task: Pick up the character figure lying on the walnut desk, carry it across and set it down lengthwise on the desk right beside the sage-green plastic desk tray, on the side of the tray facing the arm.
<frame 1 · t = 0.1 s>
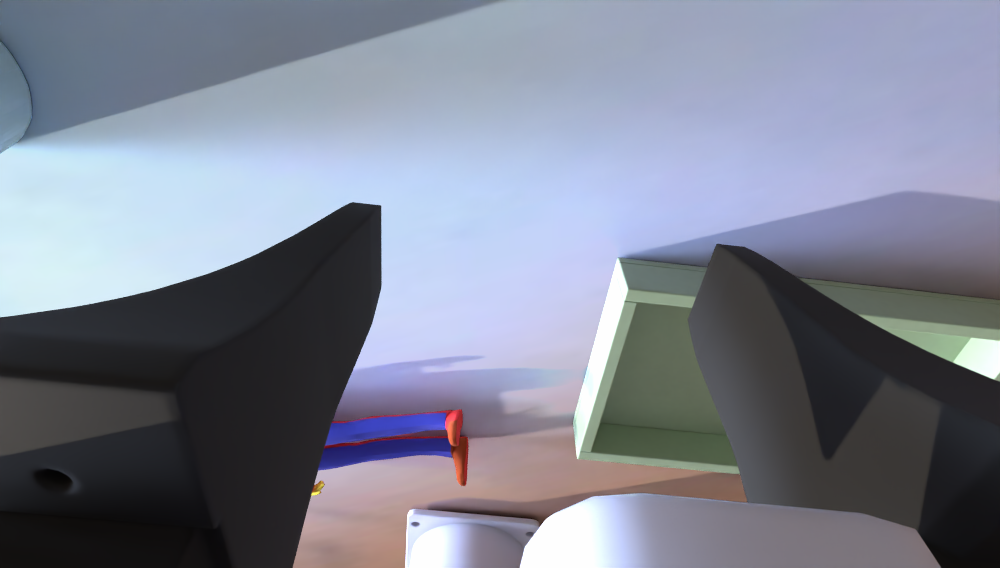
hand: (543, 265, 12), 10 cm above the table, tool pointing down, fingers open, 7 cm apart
character figure: (282, 422, 30), on the table
desk tray: (768, 366, 27), on the table
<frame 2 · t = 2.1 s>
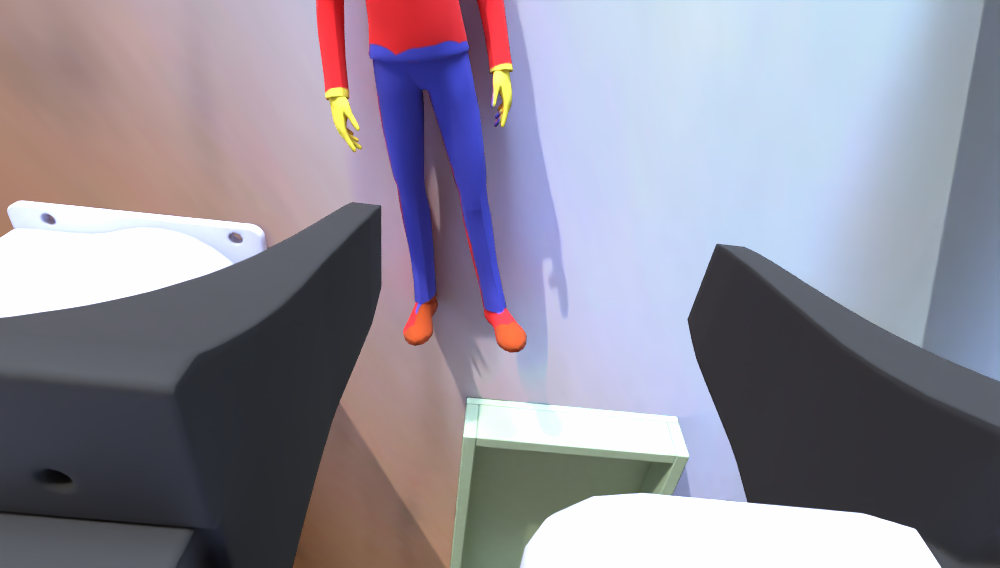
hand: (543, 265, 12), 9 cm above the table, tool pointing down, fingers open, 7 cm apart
character figure: (428, 46, 18), on the table
desk tray: (546, 513, 31), on the table
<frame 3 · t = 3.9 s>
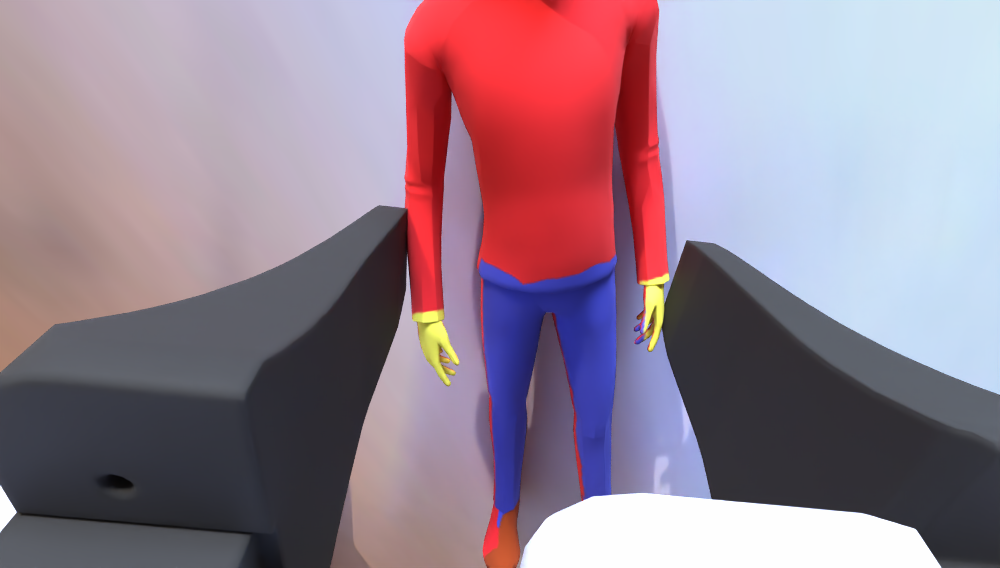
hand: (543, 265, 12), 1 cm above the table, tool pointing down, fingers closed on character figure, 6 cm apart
character figure: (542, 229, 13), on the table, touching gripper
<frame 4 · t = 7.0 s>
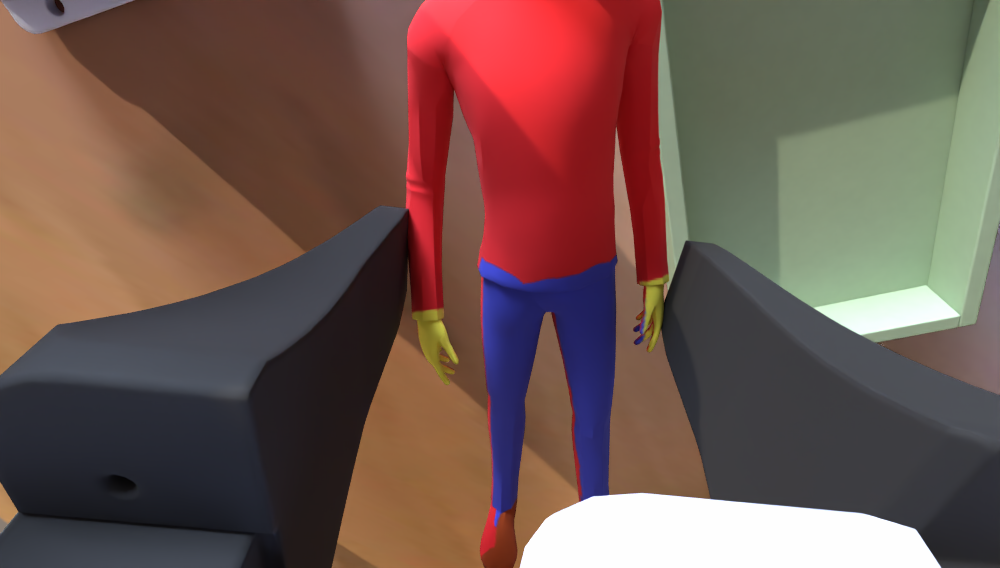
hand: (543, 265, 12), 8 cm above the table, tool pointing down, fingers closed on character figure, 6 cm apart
character figure: (543, 229, 13), point 7 cm above the table, touching gripper
desk tray: (802, 113, 18), on the table
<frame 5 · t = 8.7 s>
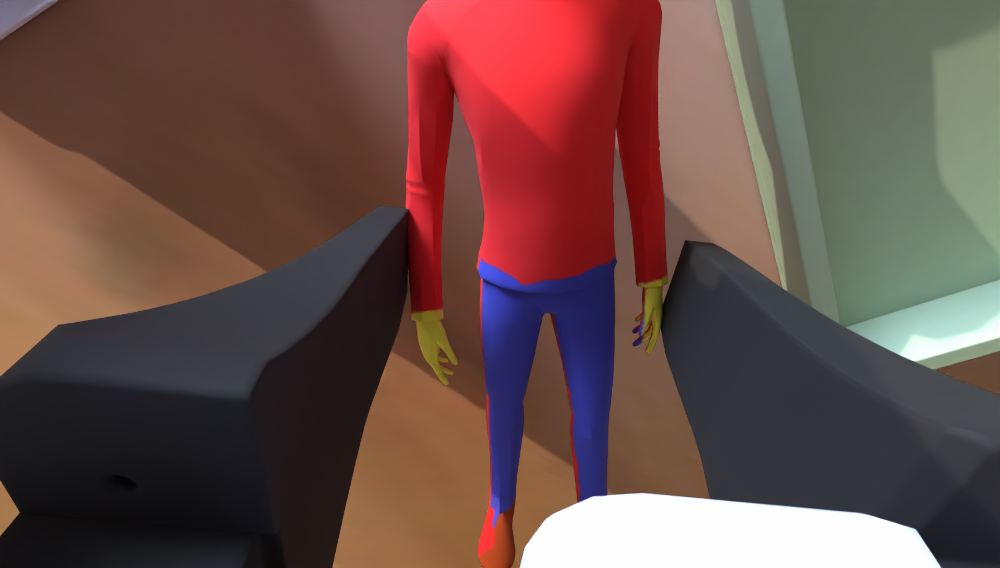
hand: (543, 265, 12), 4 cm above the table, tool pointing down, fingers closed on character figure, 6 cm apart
character figure: (542, 230, 13), point 2 cm above the table, touching gripper
desk tray: (966, 8, 13), on the table
when the fingers open (1 cm above the table, at t = 10.1 s): character figure stays where it is, on the table.
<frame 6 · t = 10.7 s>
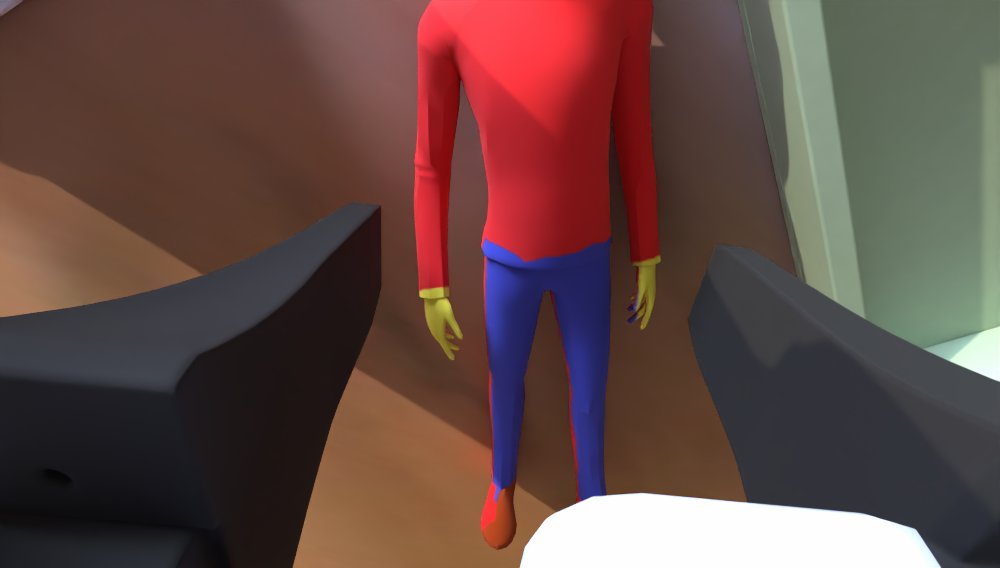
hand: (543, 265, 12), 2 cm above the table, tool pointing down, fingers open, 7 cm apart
character figure: (542, 214, 14), on the table
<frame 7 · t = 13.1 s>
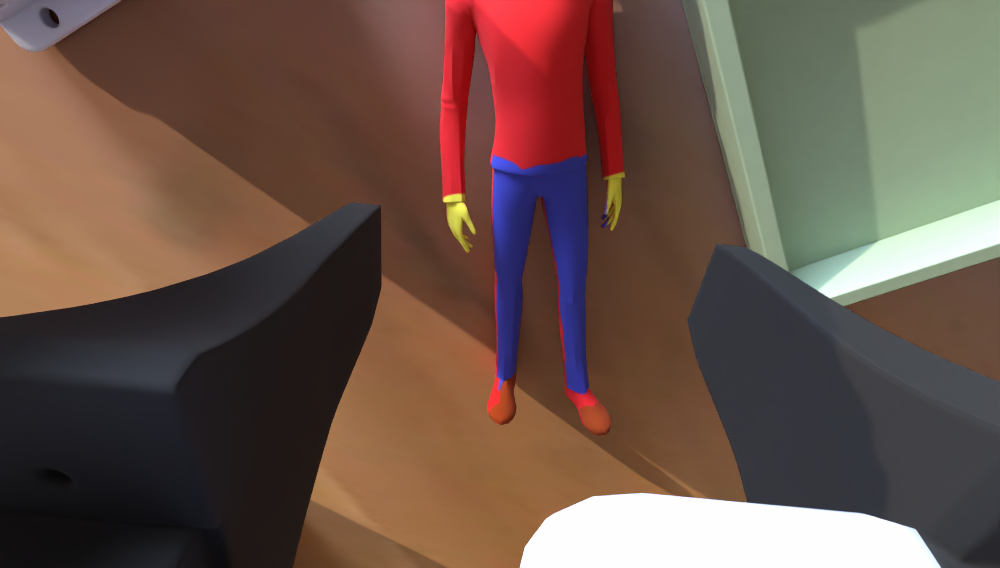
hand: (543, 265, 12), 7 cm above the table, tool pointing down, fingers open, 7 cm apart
character figure: (535, 146, 18), on the table
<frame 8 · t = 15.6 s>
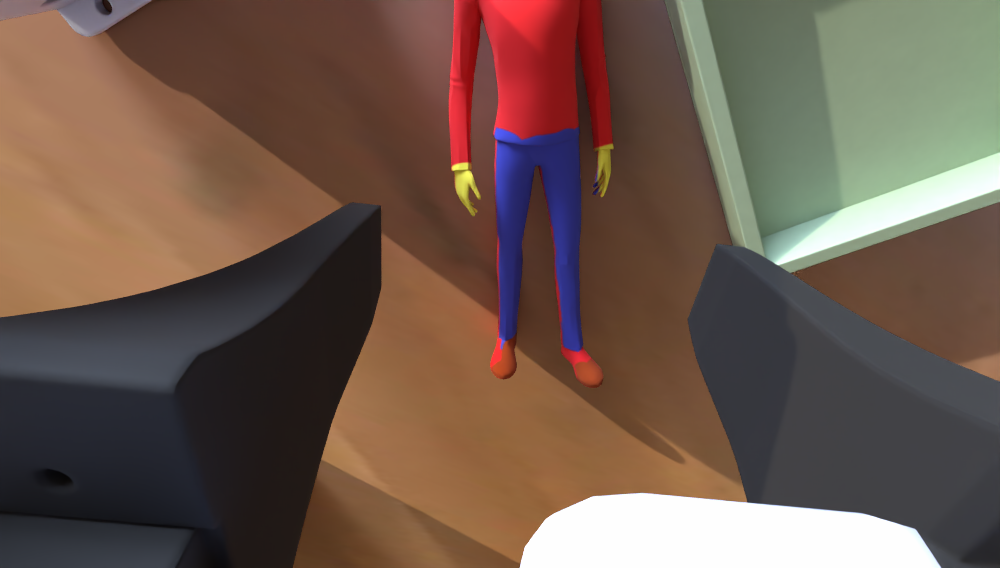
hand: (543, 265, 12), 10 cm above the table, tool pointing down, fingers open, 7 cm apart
character figure: (534, 122, 20), on the table
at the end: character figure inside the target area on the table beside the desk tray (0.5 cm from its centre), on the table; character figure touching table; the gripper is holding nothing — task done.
